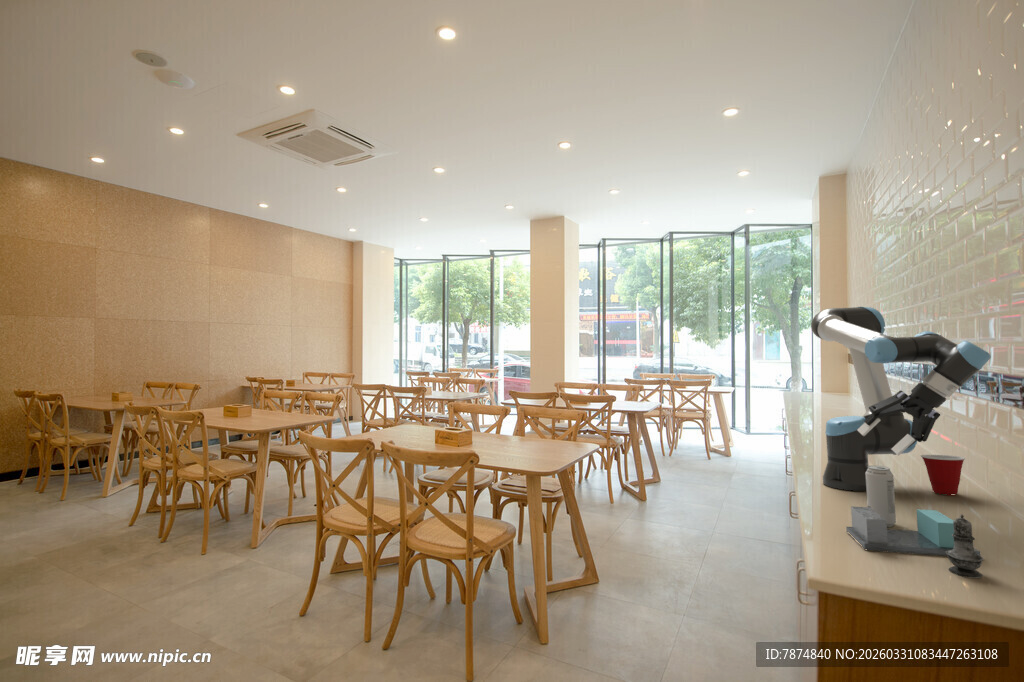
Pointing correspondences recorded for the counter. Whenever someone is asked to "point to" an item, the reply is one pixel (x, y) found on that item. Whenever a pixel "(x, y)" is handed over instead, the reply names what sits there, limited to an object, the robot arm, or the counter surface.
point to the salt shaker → (964, 551)
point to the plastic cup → (944, 472)
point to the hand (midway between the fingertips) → (877, 442)
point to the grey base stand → (889, 535)
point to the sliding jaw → (936, 527)
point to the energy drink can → (881, 492)
